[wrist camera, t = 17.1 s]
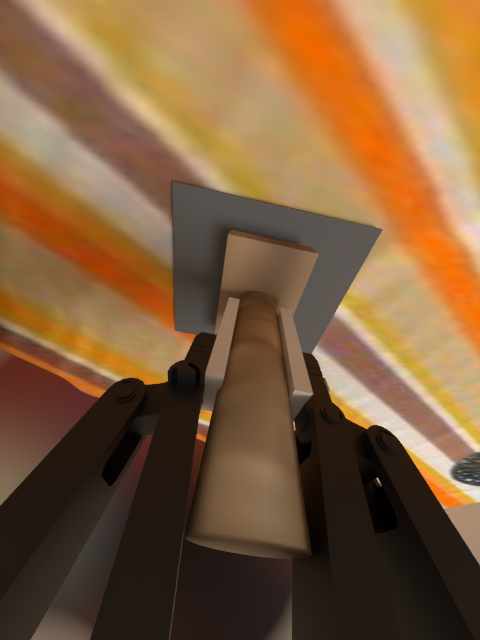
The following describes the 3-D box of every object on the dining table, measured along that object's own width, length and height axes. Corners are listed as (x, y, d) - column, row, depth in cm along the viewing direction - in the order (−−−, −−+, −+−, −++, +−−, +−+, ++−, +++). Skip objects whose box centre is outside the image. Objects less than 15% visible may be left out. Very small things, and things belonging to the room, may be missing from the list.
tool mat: (178, 325, 22) (174, 330, 21) (177, 182, 14) (172, 181, 13) (307, 352, 22) (309, 357, 22) (375, 227, 15) (382, 229, 14)
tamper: (216, 334, 19) (148, 548, 7) (232, 229, 13) (51, 438, 2) (273, 345, 19) (293, 573, 8) (311, 246, 14) (615, 542, 2)
